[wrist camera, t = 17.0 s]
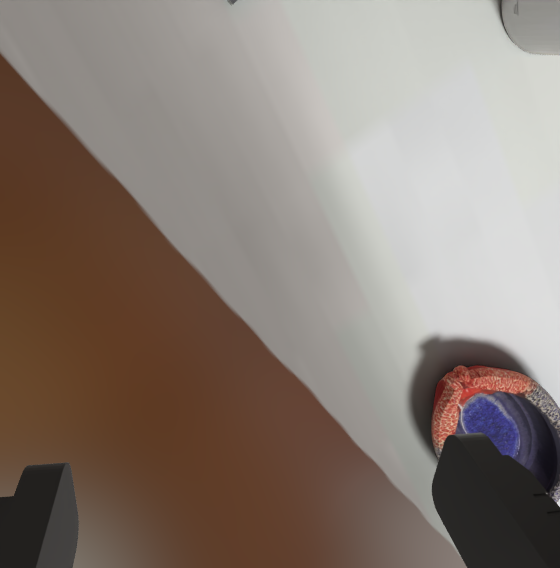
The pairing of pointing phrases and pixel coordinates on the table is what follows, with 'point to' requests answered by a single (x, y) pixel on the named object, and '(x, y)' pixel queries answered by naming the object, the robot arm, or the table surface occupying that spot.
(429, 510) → the table surface
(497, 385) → the dish
